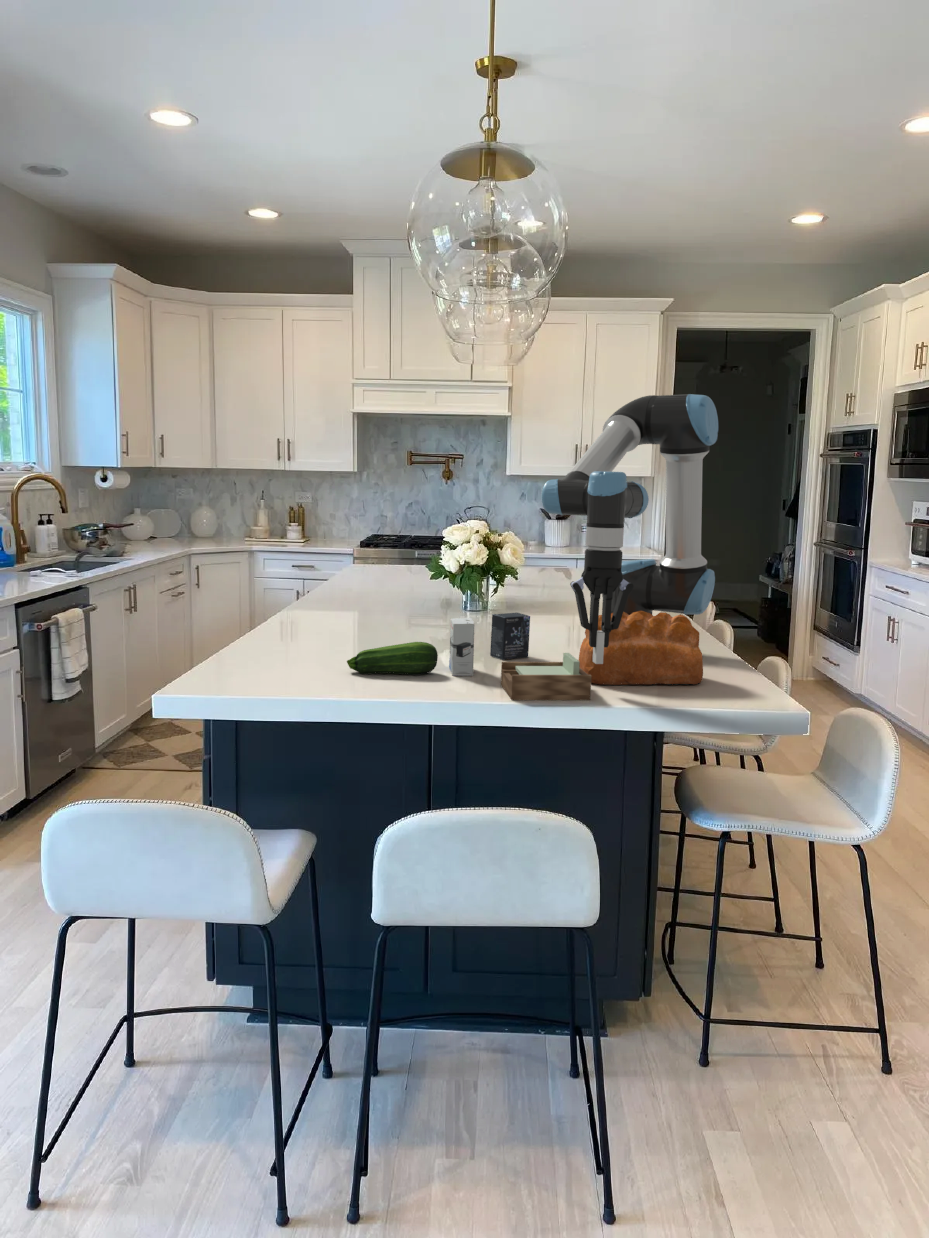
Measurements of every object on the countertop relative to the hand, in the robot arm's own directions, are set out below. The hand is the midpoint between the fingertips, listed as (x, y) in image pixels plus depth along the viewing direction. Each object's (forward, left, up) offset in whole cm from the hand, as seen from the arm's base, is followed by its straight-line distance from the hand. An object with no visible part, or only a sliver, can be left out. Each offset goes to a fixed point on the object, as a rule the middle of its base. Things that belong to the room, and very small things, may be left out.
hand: (597, 662), depth 186 cm
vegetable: (+41, -18, -7) cm, 46 cm away
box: (+12, -36, -7) cm, 39 cm away
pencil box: (+11, 0, -6) cm, 13 cm away
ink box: (+26, -19, -7) cm, 33 cm away
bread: (-13, -12, -7) cm, 19 cm away
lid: (+10, 0, -3) cm, 11 cm away
